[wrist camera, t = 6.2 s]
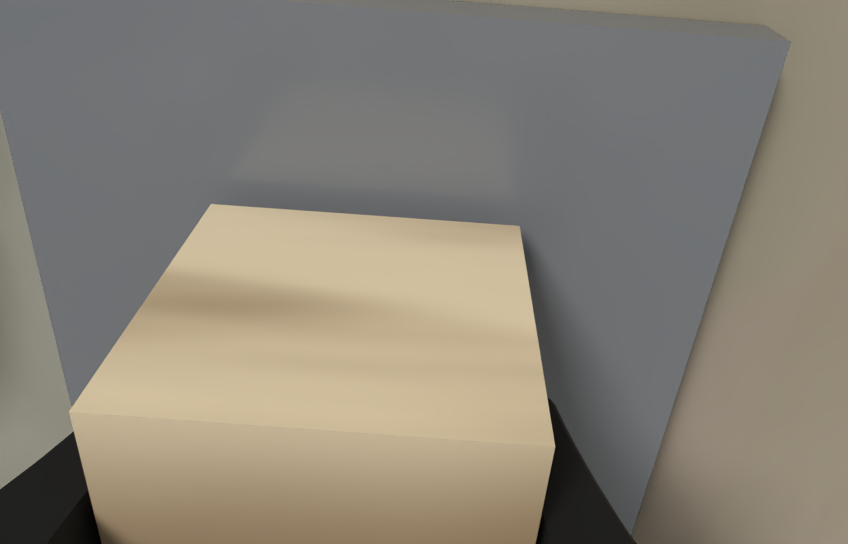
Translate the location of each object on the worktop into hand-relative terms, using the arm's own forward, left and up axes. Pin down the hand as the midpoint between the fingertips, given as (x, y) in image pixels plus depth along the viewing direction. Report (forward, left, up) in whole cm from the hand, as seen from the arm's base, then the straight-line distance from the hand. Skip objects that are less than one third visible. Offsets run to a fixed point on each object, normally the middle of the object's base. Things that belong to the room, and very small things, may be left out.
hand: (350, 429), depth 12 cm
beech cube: (0, 0, -2) cm, 2 cm away
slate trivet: (0, 0, -3) cm, 3 cm away
